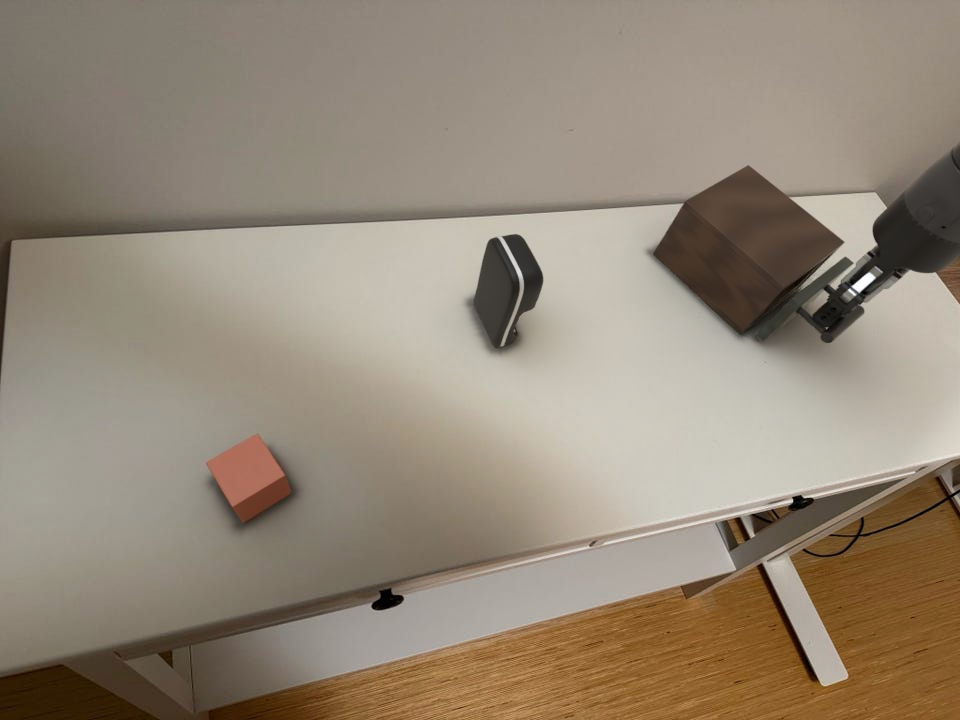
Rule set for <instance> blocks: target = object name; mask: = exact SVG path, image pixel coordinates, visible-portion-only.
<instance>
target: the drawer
mask: <svg viewBox="0 0 960 720" xmlns="http://www.w3.org/2000/svg"><path fill="white" fill-rule="evenodd" d="M826 258H827V257H826ZM826 258H825V259H826ZM825 259H824V260H825ZM824 260H822V261H821V262H820V263H818V264H817V265H816V266H814V267H813V268H812V269H810V270H809V271H808V272H807V273H805V274H804V275H803V276H801V277H800V278H799V279H797V280H796V281H795V282H793V283H792V284H791V285H789V286H788V287H787V288H786V289H784V290H783V292H782V293H781V294H780V295H779V296H778V297H777V298H776V299H775V300H774V301H773V302H772V303H771V304H770V305H769V306H768V307H767V308H766V309H765V310H764V311H763V312H762V313H761V314H760V315H759V316H758V317H760V316H761V315H762V314H763V313H765V312H766V311H767V310H769V309H770V308H771V307H773V306H774V305H775V304H776V303H778V302H779V301H780V300H782V299H783V298H784V297H785V296H787V295H788V294H789V293H791V292H792V291H793V290H795V289H796V288H797V287H798V286H799V285H800V284H801V283H802V282H803V281H804V280H805V279H806V278H807V277H808V276H809V275H810V274H811V273H812V272H813V271H814V270H815V269H816V268H817V267H818V266H819V265H820V264H821V263H822V262H823V261H824ZM852 265H854V262H853V261H852V260H851V259H850V258H848V257H847V256H845V255H844V256H843V257H842V258H841V259H840V260H838V261H837V262H835V264H834V265H832V266H831V267H829V268H828V269H827V270H825V271H824V272H822V274H821V275H819V276H818V277H816V278H815V279H814V280H813V281H811V283H809V284H807V286H805V287H804V288H803V289H801V290H800V291H799V292H797V293H796V294H795V295H793V297H791V298H790V299H789V300H788V301H787V302H786V303H785V305H783V306H782V307H781V308H780V309H779V310H778V311H777V312H776V313H775V314H774V315H773V316H772V317H771V318H770V319H769V320H768V321H767V322H766V323H765V324H764V325H763V326H762V327H761V328H760V329H759V330H758V331H756V333H755V334H754V336H755V337H756V338H757V339H758V340H760V341H761V343H764V342H765V341H766V340H767V339H768V338H770V337H771V336H772V335H773V334H775V333H776V332H777V331H778V330H779V329H781V328H782V327H783V326H784V325H786V324H787V323H789V321H791V320H792V319H793V318H795V317H796V316H797V315H798V316H800V318H802V319H803V320H804V321H805V322H807V324H809V325H810V326H811V327H812V328H813V329H814V330H815V331H817V332H818V333H819V334H820V336H819V337H820V340H821V341H822V342H823V343H825V344H831V343H833V342H834V341H835V340H836V339H838V337H840V336H842V334H843V333H844V332H845V331H846V330H848V329H849V328H850V327H851V326H852V325H854V324H855V322H857V321H858V320H859V319H860V318H861V317H862V316H863V315H865V308H864V307H863V306H862V305H859V304H858V305H857V306H856V308H855V309H854V310H852V312H850V313H849V314H848V313H847V314H846V315H843V316H841V317H840V318H839V319H838V320H837V321H835V322H834V323H833V324H832V325H831V326H830V327H828V328H825V327H824V326H823V325H822V324H821V323H819V322H818V321H817V320H816V319H815V318H814V317H813V315H812V314H810V313H809V312H808V311H807V310H806V309H805V308H807V307H808V306H809V305H810V304H812V303H813V302H814V301H815V300H816V299H818V298H819V296H821V295H822V294H823V293H824V292H826V294H828V296H829V295H830V294H831V293H833V292H834V291H835V290H836V289H835V288H834V287H833V286H831V285H832V284H833V283H834V282H835V281H837V280H838V279H839V278H840V277H841V276H842V275H843V274H844V273H845V272H846V271H847V270H848V269H849V268H850V267H852ZM758 317H757V318H758ZM757 318H756V319H757ZM756 319H755V320H756Z"/></svg>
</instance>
